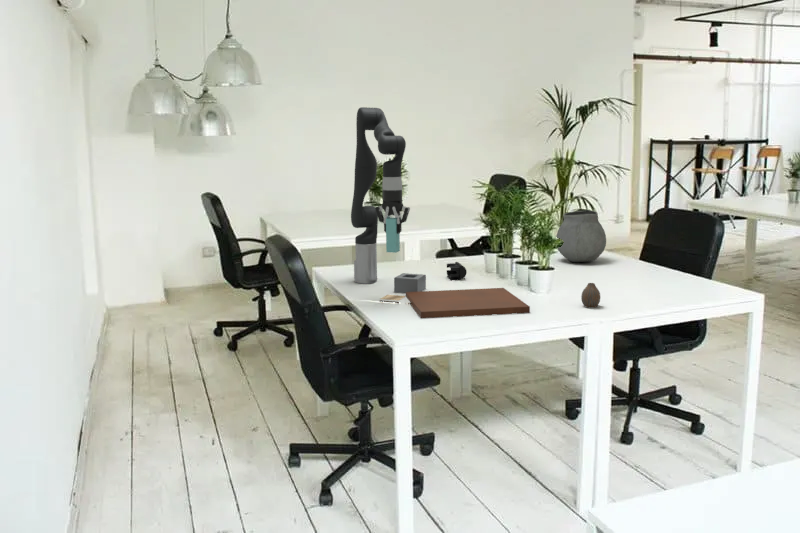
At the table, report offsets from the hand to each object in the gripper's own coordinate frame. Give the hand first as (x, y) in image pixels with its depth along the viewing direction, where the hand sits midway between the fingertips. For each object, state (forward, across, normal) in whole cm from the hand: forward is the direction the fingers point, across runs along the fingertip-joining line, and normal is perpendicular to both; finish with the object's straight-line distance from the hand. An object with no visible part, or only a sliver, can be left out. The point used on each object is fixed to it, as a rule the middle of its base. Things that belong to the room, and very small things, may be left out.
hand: (392, 233), depth 290 cm
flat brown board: (+27, +29, +1) cm, 40 cm away
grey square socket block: (+26, +2, +14) cm, 30 cm away
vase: (+27, +74, +13) cm, 80 cm away
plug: (+7, 0, 0) cm, 7 cm away
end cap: (+27, +11, +49) cm, 57 cm away
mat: (+26, 0, 0) cm, 26 cm away
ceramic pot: (+26, +58, +107) cm, 125 cm away
